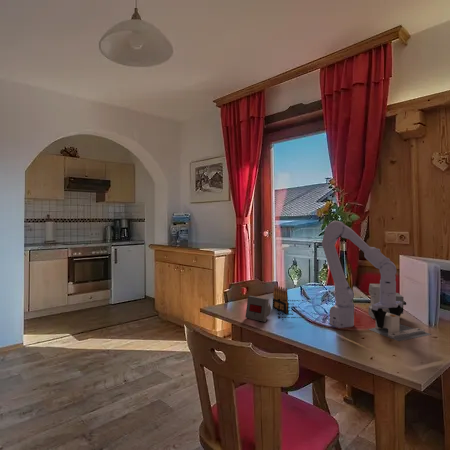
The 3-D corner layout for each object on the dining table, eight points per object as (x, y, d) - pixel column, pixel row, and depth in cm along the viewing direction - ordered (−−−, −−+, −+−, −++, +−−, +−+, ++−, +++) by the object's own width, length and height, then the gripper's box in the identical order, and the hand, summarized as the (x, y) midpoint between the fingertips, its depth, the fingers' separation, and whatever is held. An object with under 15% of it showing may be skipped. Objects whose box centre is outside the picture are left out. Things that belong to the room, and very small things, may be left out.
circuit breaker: (407, 322, 143) (407, 288, 143) (372, 320, 146) (372, 286, 146) (401, 317, 150) (402, 284, 150) (368, 315, 153) (368, 283, 153)
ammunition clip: (272, 308, 165) (272, 284, 165) (275, 307, 166) (275, 284, 166) (285, 313, 156) (285, 288, 155) (288, 313, 156) (289, 288, 156)
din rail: (393, 338, 122) (393, 335, 122) (387, 336, 124) (387, 333, 124) (424, 332, 129) (424, 329, 128) (418, 330, 131) (418, 327, 131)
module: (391, 334, 126) (391, 316, 126) (375, 328, 133) (375, 311, 133) (399, 332, 128) (399, 315, 128) (383, 326, 135) (383, 310, 135)
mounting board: (398, 343, 119) (398, 341, 119) (367, 331, 132) (367, 329, 132) (431, 336, 126) (431, 334, 126) (399, 325, 139) (399, 323, 139)
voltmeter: (245, 322, 142) (245, 299, 142) (245, 315, 153) (245, 293, 153) (307, 324, 141) (308, 301, 141) (302, 316, 152) (302, 294, 152)
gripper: (383, 295, 124) (382, 331, 124) (409, 292, 130) (409, 326, 130) (368, 292, 130) (367, 326, 131) (393, 289, 136) (393, 321, 136)
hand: (387, 326), depth 131 cm, fingers open, 7 cm apart
